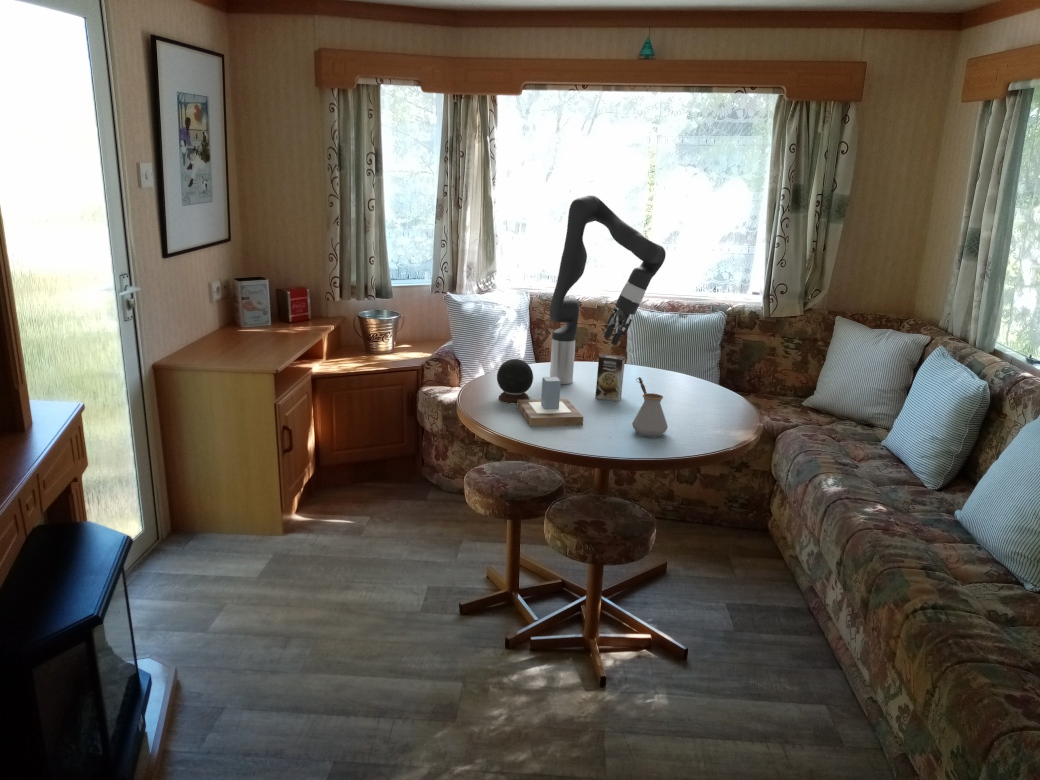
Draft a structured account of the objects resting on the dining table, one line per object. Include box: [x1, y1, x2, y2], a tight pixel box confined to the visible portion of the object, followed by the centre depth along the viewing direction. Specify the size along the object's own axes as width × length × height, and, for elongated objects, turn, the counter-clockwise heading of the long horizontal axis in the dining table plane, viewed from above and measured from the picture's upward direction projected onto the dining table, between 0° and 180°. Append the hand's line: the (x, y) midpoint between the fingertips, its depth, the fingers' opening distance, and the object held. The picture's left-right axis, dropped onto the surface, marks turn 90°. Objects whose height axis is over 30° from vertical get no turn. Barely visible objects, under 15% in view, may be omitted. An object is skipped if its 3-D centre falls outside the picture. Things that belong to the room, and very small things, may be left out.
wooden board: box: [516, 398, 584, 427], centre depth 266 cm, size 20×18×3 cm
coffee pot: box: [631, 376, 668, 438], centre depth 257 cm, size 21×12×15 cm, turn 9°
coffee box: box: [594, 353, 626, 402], centre depth 288 cm, size 9×6×16 cm
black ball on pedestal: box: [496, 358, 534, 404], centre depth 281 cm, size 13×13×15 cm
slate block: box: [540, 376, 562, 409], centre depth 264 cm, size 5×5×10 cm
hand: (609, 340), depth 268 cm, fingers open, 8 cm apart
